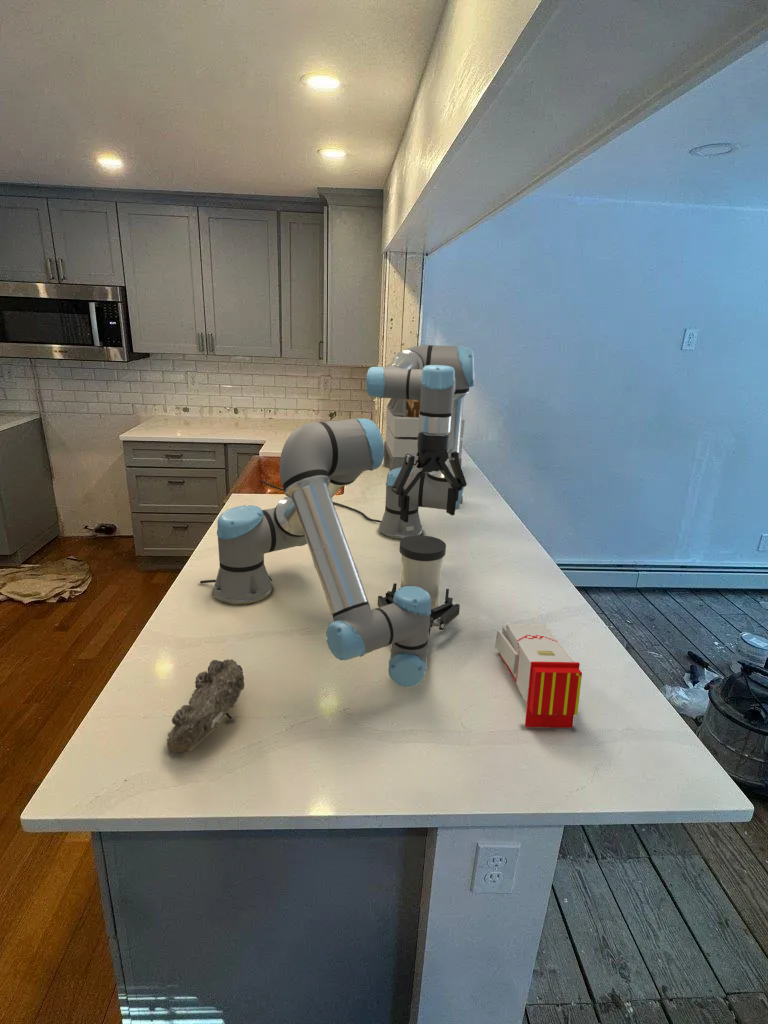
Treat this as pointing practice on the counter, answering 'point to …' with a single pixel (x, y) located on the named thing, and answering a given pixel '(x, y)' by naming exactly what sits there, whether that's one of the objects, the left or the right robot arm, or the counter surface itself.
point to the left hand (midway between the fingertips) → (420, 590)
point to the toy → (541, 674)
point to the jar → (422, 576)
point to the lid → (422, 548)
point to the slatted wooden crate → (404, 432)
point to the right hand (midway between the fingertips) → (427, 517)
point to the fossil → (206, 705)
